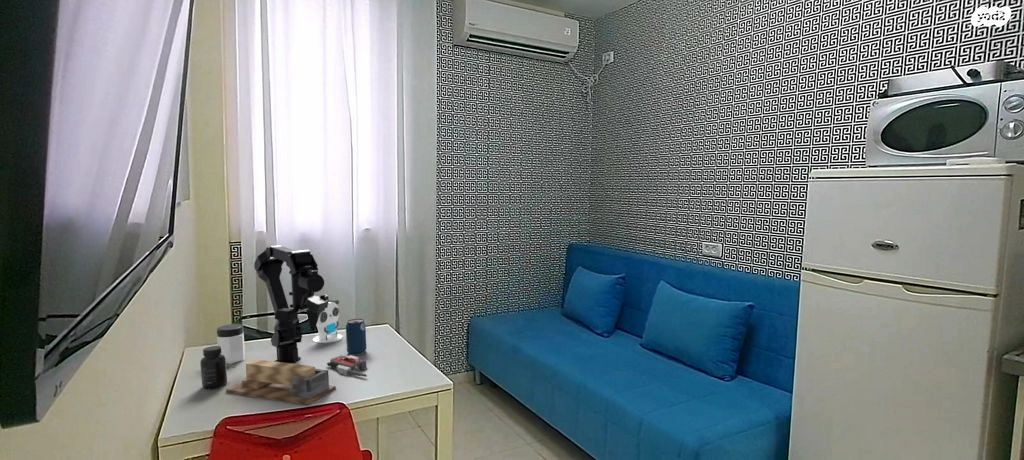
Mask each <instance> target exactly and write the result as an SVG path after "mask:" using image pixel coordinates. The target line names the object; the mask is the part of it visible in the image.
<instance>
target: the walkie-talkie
mask: <svg viewBox="0 0 1024 460" xmlns="http://www.w3.org/2000/svg"><path fill="white" fill-rule="evenodd" d="M326 365H327V366H328V367H330V368H331V369H334V370H337V372H338V374H340V375H341V374H342V375H345V376H348V375H354V376H357V377H360V376H361V377H366V378H367V376H368V375H367V374H365V373H362V372H360V371H363V370H366V368H367V360H365V359H360V357H359V356H357V355H350V354H349V355H346V354H344V355H342V354H341V355H338V356H335V357H332V358H331V359H330V360H329V362H327V363H326Z"/></svg>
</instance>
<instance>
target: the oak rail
mask: <svg viewBox="0 0 1024 460" xmlns="http://www.w3.org/2000/svg"><path fill="white" fill-rule="evenodd" d="M245 368H246V369H245V370H246V371H245V373H246V374H245V375H246V378H247V380H253V381H261V382H268V383H275V384H282V385H289V386H292V377H294V376H298V377H305V378H310V377H312V376H314V375H315V369H316V366H314V365H308V364H300V363H283V362H275V360H268V359H267V360H265V359H259V358H258V359H257V358H255V359H253V360H251V361H249V362H246V363H245Z"/></svg>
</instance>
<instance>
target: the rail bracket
mask: <svg viewBox="0 0 1024 460" xmlns="http://www.w3.org/2000/svg"><path fill="white" fill-rule="evenodd" d="M329 376H330V375H329V370H328V369H320V368H315V375H314V376H312V377H310V378H305V377H298V376H294V377H292V386H289V385H282V384H275V383H268V382H261V381H253V380H247V377H246V378H244V379H242V380H241V382H239V383H238V384H235V385H233V386H230V387H229V388H228V387H227V388H225V392H226V393H227V394H234V395H240V396H244V397H245V396H246V397H250V398H251V397H252V398H259V399H264V400H271V401H277V402H283V403H290V404H297V405H302V406H303V405H304V406H310V405H312V404H313V403H315V402H317V401H318V400H320V399H322V398H323V397H325V396H327V395H328V394H330V393H332V392H334V391H335V390H336V389H337V388H336V386H335V385H331V384H330V381H329Z"/></svg>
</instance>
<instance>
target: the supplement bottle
mask: <svg viewBox="0 0 1024 460" xmlns="http://www.w3.org/2000/svg"><path fill="white" fill-rule="evenodd" d="M221 353H222V351H221V347H220V346H218V345H211V346H207V347H205V348H203V349H202V356H203V357H202V358H201V359H200V361H199V365H200V367H199V368H200V376H201V378H200V379H201V387H202V389H204V390H208V389H210V390H218V389H220V388H222V387H224V386H226V385H227V384H228V373H227V372H228V371H227V370H228V369H227V364H226V358H225V356H224V355H222V354H221Z"/></svg>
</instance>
